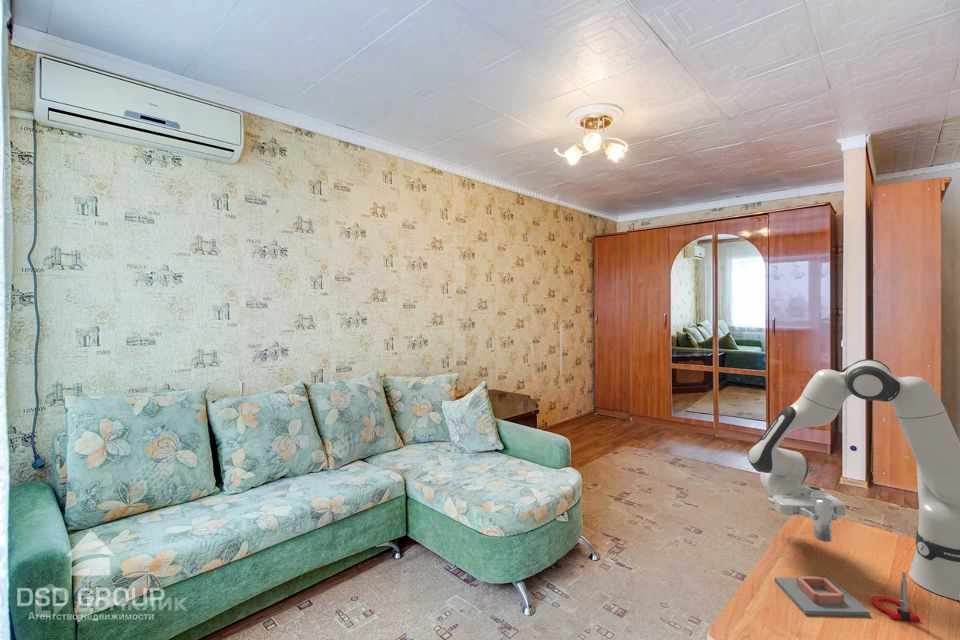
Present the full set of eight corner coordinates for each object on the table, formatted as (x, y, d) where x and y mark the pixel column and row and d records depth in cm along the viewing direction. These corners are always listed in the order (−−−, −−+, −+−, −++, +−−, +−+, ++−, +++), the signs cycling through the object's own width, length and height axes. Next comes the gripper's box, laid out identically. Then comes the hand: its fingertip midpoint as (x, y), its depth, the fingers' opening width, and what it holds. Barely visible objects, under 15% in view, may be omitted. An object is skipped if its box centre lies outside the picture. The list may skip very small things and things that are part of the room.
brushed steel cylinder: (824, 533, 140) (825, 497, 139) (835, 541, 135) (836, 504, 135) (810, 533, 140) (811, 497, 139) (820, 541, 136) (821, 503, 135)
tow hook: (864, 598, 128) (888, 620, 119) (864, 554, 128) (888, 573, 119) (896, 600, 127) (923, 623, 118) (897, 556, 127) (924, 575, 118)
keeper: (832, 582, 135) (832, 570, 134) (869, 616, 121) (870, 603, 120) (774, 581, 136) (774, 569, 135) (805, 614, 122) (805, 601, 122)
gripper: (764, 488, 151) (790, 508, 137) (827, 488, 149) (859, 508, 135) (764, 505, 151) (789, 527, 137) (826, 506, 150) (859, 528, 136)
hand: (825, 518), depth 136 cm, fingers closed on brushed steel cylinder, 4 cm apart
